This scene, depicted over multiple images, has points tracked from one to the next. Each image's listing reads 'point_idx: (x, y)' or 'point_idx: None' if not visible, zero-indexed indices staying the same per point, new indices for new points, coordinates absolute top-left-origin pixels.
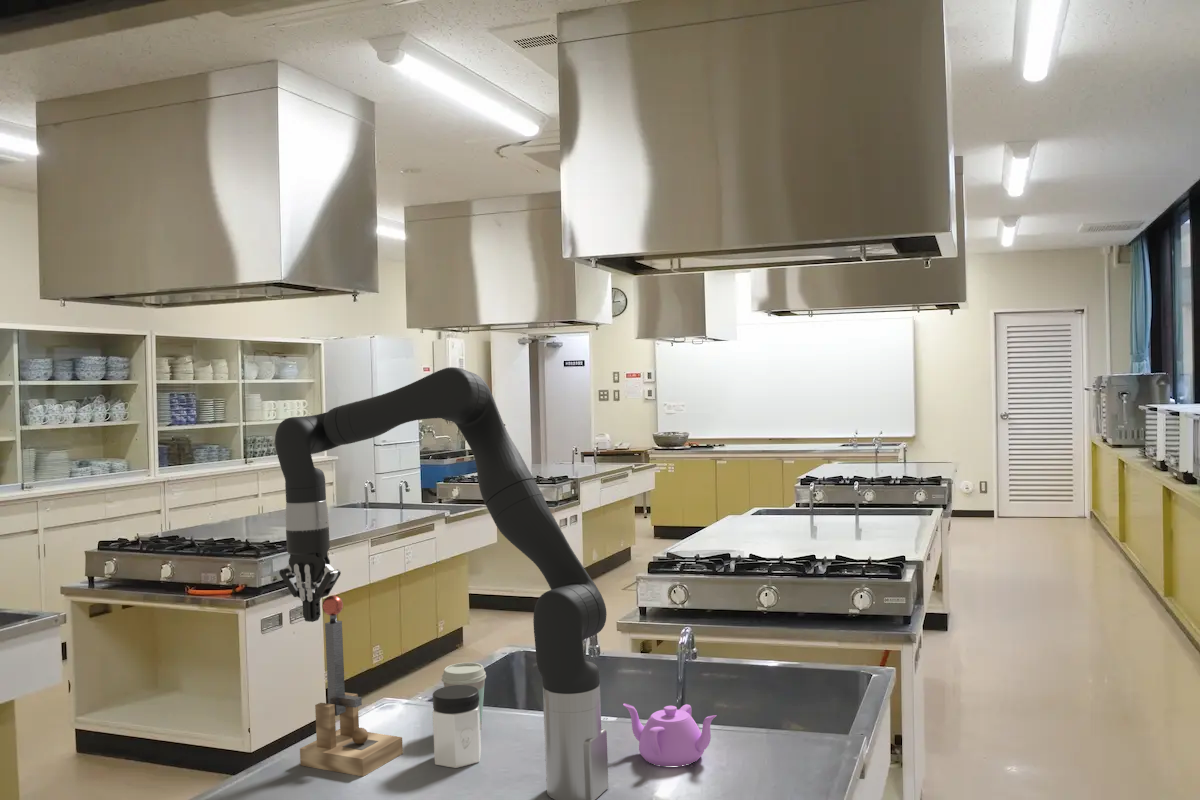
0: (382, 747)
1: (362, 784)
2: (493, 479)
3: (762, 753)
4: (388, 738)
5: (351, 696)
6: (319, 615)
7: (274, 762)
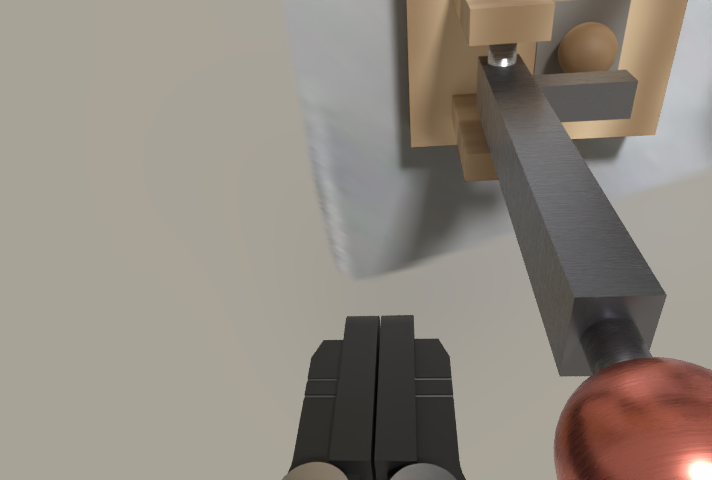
0: (676, 34)
1: (660, 151)
2: None
3: None
4: None
5: (585, 91)
6: (445, 356)
7: (325, 138)
